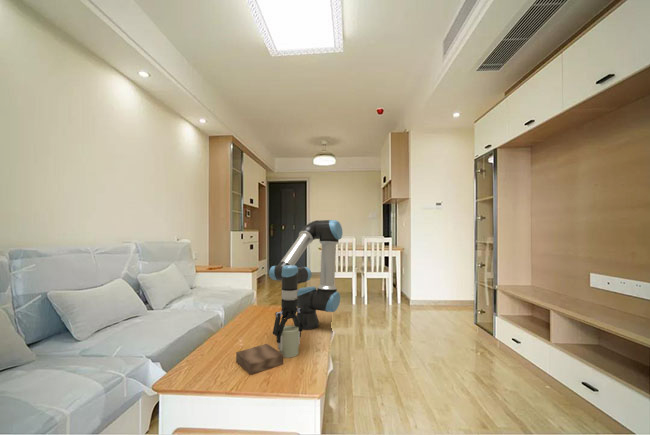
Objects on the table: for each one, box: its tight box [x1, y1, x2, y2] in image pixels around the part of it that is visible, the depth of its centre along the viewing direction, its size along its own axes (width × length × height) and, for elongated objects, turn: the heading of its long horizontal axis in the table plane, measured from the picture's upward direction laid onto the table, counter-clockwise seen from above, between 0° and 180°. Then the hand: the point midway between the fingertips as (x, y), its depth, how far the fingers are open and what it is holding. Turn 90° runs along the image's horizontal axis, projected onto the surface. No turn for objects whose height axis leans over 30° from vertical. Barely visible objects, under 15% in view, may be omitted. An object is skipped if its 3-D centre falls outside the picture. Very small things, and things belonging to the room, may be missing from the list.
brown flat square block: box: [235, 343, 284, 376], centre depth 122 cm, size 15×15×4 cm
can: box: [278, 325, 300, 359], centre depth 132 cm, size 9×9×12 cm
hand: (288, 346), depth 131 cm, fingers closed on can, 9 cm apart
